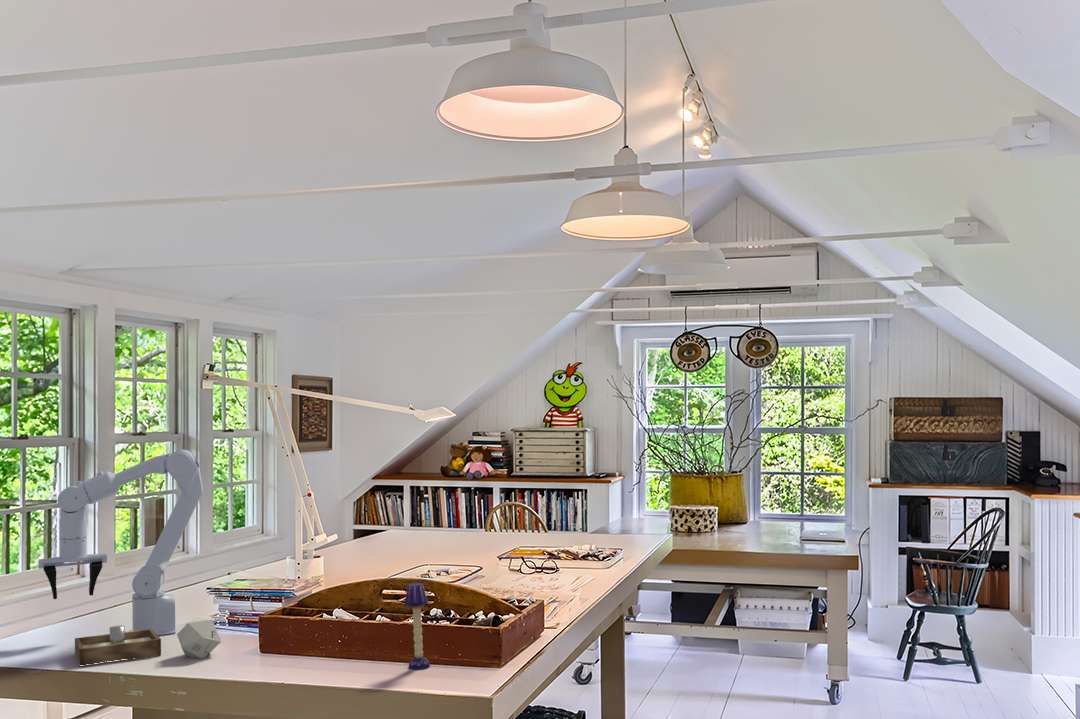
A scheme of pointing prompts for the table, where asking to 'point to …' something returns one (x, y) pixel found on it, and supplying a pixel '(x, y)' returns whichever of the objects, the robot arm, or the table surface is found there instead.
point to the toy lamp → (417, 623)
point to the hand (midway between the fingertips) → (73, 596)
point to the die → (198, 638)
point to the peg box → (117, 647)
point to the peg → (117, 635)
